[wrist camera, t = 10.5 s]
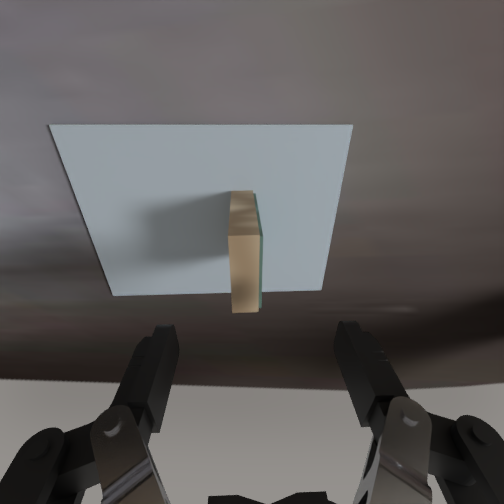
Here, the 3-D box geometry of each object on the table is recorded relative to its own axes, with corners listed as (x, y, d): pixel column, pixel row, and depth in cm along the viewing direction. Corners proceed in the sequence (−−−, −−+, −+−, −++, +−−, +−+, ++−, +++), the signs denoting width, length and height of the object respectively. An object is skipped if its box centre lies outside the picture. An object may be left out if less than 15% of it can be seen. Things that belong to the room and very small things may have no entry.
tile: (255, 190, 21) (263, 234, 14) (255, 251, 24) (261, 311, 17) (231, 190, 21) (228, 235, 14) (233, 251, 24) (232, 312, 17)
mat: (351, 124, 19) (353, 124, 19) (320, 287, 28) (321, 290, 27) (52, 124, 18) (48, 124, 18) (114, 293, 27) (113, 295, 26)
